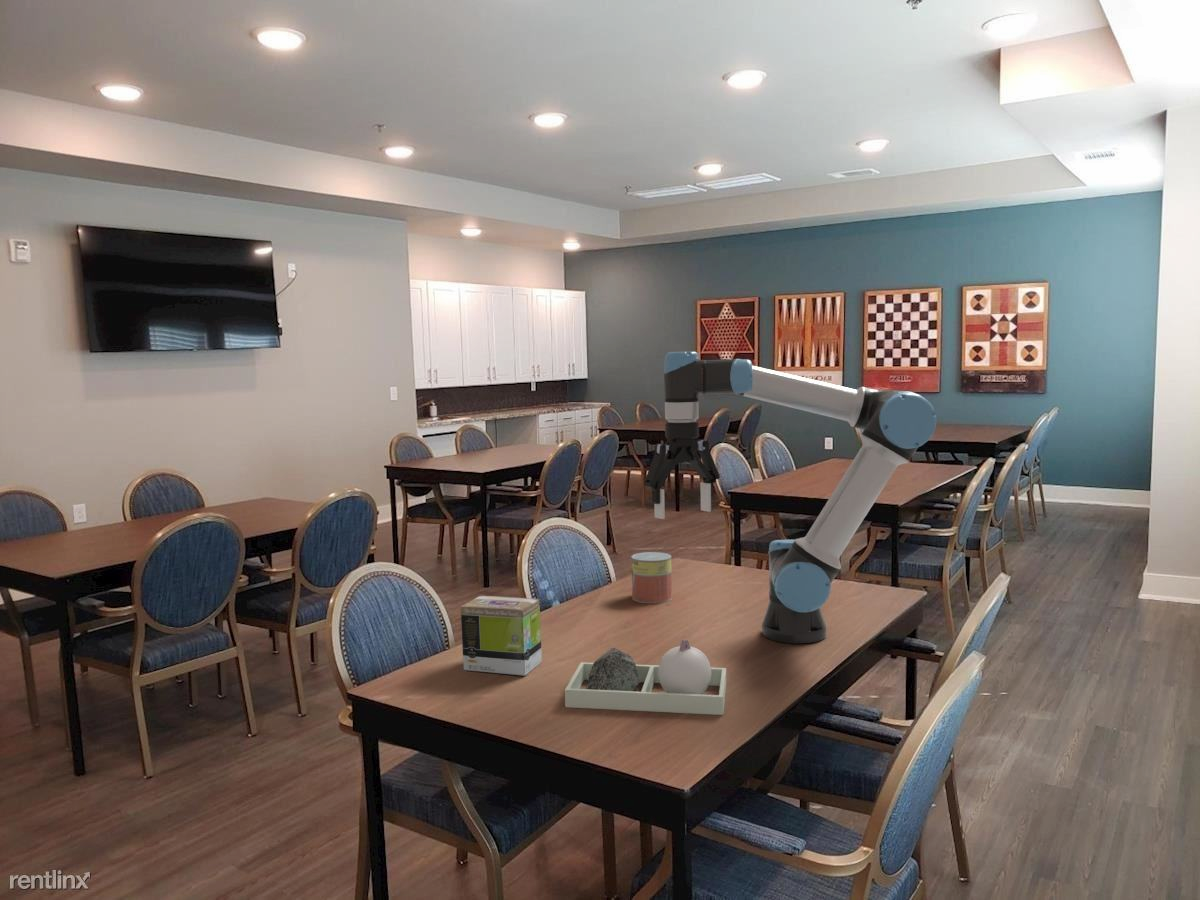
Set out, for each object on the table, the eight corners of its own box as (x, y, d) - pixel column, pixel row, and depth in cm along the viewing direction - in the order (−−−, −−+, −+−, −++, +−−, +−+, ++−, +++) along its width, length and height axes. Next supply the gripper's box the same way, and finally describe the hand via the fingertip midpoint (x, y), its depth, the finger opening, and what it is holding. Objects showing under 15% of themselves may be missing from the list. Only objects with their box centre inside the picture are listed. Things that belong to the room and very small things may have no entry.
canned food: (634, 592, 253) (633, 551, 252) (673, 593, 252) (672, 551, 251) (630, 603, 242) (629, 560, 241) (671, 603, 241) (670, 560, 240)
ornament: (697, 711, 167) (696, 650, 166) (650, 701, 172) (648, 642, 171) (719, 693, 175) (719, 635, 174) (673, 684, 181) (673, 627, 180)
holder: (726, 684, 180) (726, 668, 180) (723, 715, 165) (723, 697, 164) (581, 678, 186) (580, 662, 185) (565, 707, 170) (564, 689, 170)
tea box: (543, 662, 196) (541, 597, 195) (524, 677, 187) (522, 610, 185) (482, 656, 201) (480, 593, 200) (461, 671, 192) (459, 605, 190)
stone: (613, 652, 171) (621, 635, 181) (576, 682, 173) (585, 664, 183) (645, 690, 171) (651, 670, 181) (608, 719, 173) (616, 699, 183)
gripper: (712, 417, 206) (713, 506, 209) (627, 423, 192) (629, 518, 195) (734, 418, 200) (735, 510, 202) (648, 425, 186) (649, 523, 188)
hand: (683, 514), depth 198 cm, fingers open, 13 cm apart
